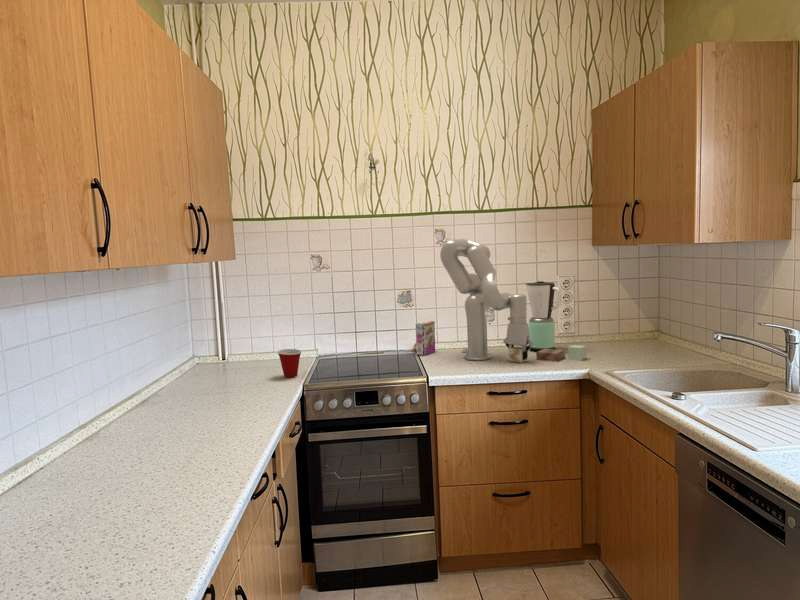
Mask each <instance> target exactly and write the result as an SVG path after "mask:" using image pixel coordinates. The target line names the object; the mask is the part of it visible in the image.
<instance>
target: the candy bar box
mask: <svg viewBox="0 0 800 600" xmlns="http://www.w3.org/2000/svg"><path fill="white" fill-rule="evenodd" d="M435 325H436V323H435V320H433V321H432V320H426V321H421V322H418V323H415V347H416V350H415V351H416V352H415V353H416V356H422V355H423V356H426V355H429V354H432V353H433V354H434V353H436V331H435V329H436V327H435Z"/></svg>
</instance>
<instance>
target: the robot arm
mask: <svg viewBox="0 0 800 600" xmlns="http://www.w3.org/2000/svg"><path fill="white" fill-rule="evenodd" d="M439 257H440V261H441V263H442V265H443V267H444V269H445V270H446V272H447V273H448V275H449V277H450V279H451V280H452V282H453V284H454V286H455V288H456V290H457V291H458V292H459V293H460V294H462V295H469V296H467V298H466V299H465V302H464V311H465V315H466V317H465V318H466V331H467V332H466V334H467V348H462V349H461V353H462V354H465V355H464V358H465V360H468V361H475V362H476V361H487V360H490V359H491V358H492V355H491V354H488V350H489V349H488V325H487V323H488V321H487V317H486V316H487V315H486V312H487V311H488V310H490V309H493V310H494V311H502V310H506V309H509V317H507V321H509V322H508V323H507V329H506V337H505V338H504V339H503V343H504V345H505V346H506V347H507V348H508V350H509V351H508V352H509V357H510V348H512V347H515V346H518V347H523V350H524V351H523V360H525V359H527V360H528V354H529V351H530V348H531V347H532V346H533V345H534V343H533V342H532V341H531V339H530V336H529V327H528V325H529V323H527V296H526V294H523V293H509V292H500V291H499V288H498V287H497V284H496V281H495V279H496V274H497V271H496V269H495V267H494V266H493V264H492V262H491V260H490V258H491V250H490V249H489V247H488V246H487V245H485V244H481V243H478V242H475V241H472V240H468V239H464V238H459V239H458V238H455V239H448V241H446V242H445V243H443V245H442V246H441V249H440V255H439ZM459 257H465V258H467V259H468V262H469V263H470V265H471V266H472V268H473V270H474V271H475V273H469V272H468V270H467V268H466V267H465V265H464V263H463V262H462V261H461V260H460V259H459Z"/></svg>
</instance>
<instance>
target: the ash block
mask: <svg viewBox="0 0 800 600" xmlns="http://www.w3.org/2000/svg"><path fill="white" fill-rule="evenodd" d="M523 351H524V350H523V347H522V346H518V345H514V347H512V348H510V356H509V362H515V363H523V362H525V361H526V362H527V361H528V358H527V359H525V360H523Z"/></svg>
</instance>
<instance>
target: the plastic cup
mask: <svg viewBox="0 0 800 600" xmlns="http://www.w3.org/2000/svg"><path fill="white" fill-rule="evenodd" d="M302 353H303V350H301V349H296V348H283V349H279V350H277V354H278V356H279V360H280V365H281V370H282V372H283V373H282V374H283V376H285V377H293V378H295V377H294V376H297V377H298V373H299V364H300V359H301V358H300V357H301V354H302ZM285 377H284V378H285Z"/></svg>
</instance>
